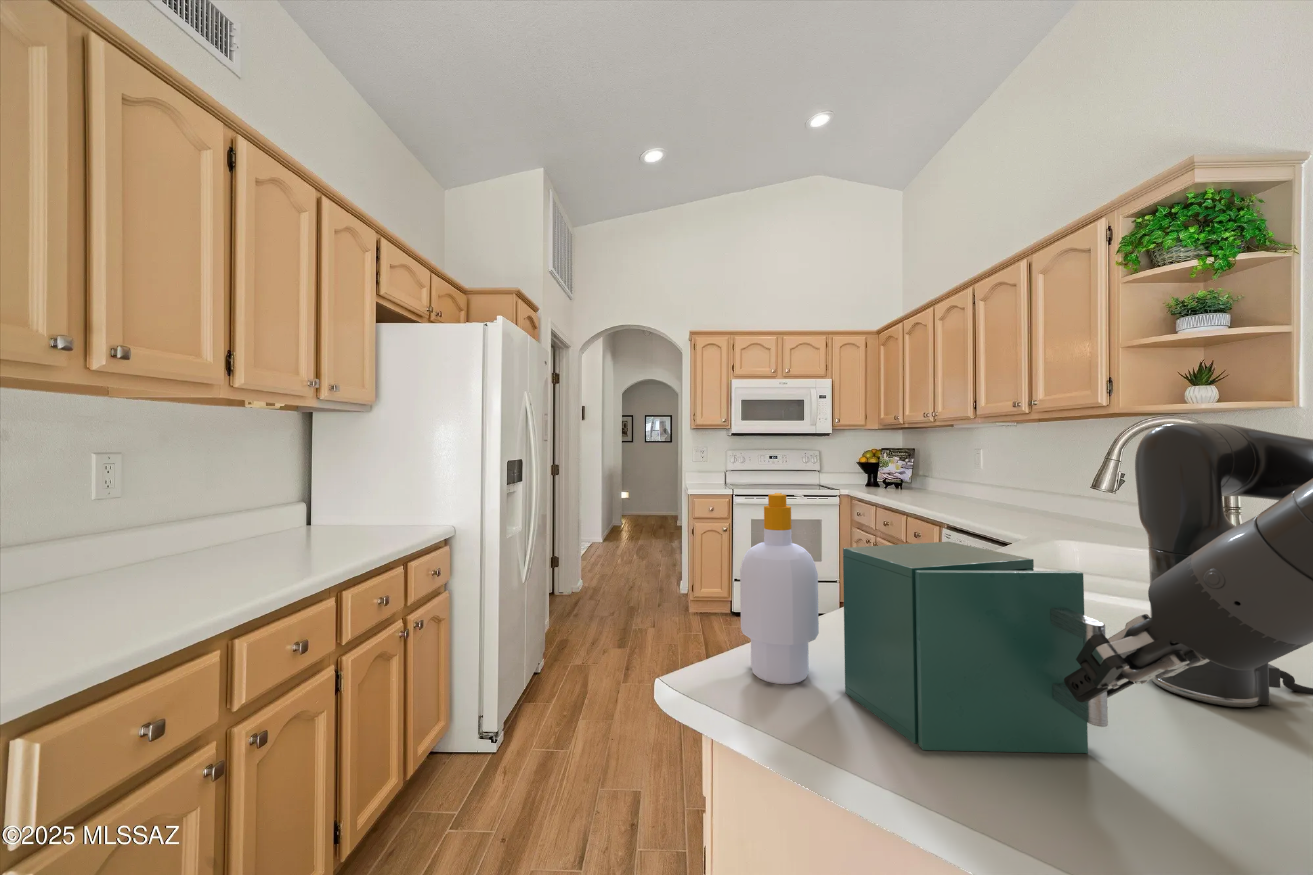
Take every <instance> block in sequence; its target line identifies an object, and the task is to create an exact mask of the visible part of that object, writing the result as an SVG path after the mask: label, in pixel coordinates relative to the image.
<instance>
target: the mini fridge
mask: <svg viewBox="0 0 1313 875" xmlns="http://www.w3.org/2000/svg"><path fill="white" fill-rule="evenodd" d="M1034 563H1035V562H1034V559H1033V558H1030V557H1024V556H1020V555H1015V554H1011V553H1005V552H1001V551H996V550H991V549H986V548H981V547H976V546H972V545H967V544H963V543H958V542H953V541H936V542H935V541H933V542H918V543H917V542H916V543H901V544H900V543H899V544H887V545H886V544H885V545H869V546H868V545H867V546H866V545H865V546H853V547H852V546H849V547H842V571H843V572H842V573H843V574H842V575H843V582H842V583H843V584H842V585H843V640H844V641H843V642H844V644H843V646H844V647H843V648H844V649H843V650H844V693H845V694H846V695H848V697H850V698H852V700H854V701H855V702H857V703H858V704H859V705H861V706H862V707H863V708H865V709H867V710H868V711H869V712H870V713H872V714H873V715H874V716H876V717H878V719H880V720H881V721H883V722H884V723H885V724H887V725H888V726H889V727H891V728H892V729H893V730H895V731H896V732H897V733H899V734H900V735H902V736H903V737H905V738H906V739H907V740H908V741H909V742H911V743H913V744H914V745H918V694H917V640H916V587H915V570H965V571H1035V569H1034V568H1035V566H1034Z"/></svg>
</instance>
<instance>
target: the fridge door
mask: <svg viewBox="0 0 1313 875" xmlns="http://www.w3.org/2000/svg"><path fill="white" fill-rule="evenodd" d="M1084 586H1085V584H1084V573H1083V572H1081V571H1078V570H1034V571H965V570H915V587H916V640H917V694H918V744H917V745H918V746H919V748H921V750H922V751H942V752H943V751H946V752H949V751H951V752H953V751H954V752H995V753H996V752H997V753H998V752H1000V753H1001V752H1004V753H1046V754H1047V753H1049V754H1051V753H1052V754H1055V753H1056V754H1057V753H1058V754H1089V738H1088V737H1089V736H1088V735H1089V734H1088V733H1089V732H1088V724H1090V725H1091V726H1095V727H1099V728H1100V727H1101V728H1106V727H1108V726H1109V716H1108V715H1109V712H1108V698H1107V691H1106V692H1104V693H1102V694H1101V695H1099V696H1097V697H1095V698H1093V699H1091V700H1089V701H1086V702H1078V701H1077V700H1076V699H1075V698H1074V696H1073V695H1072V693H1071V692H1070V691H1069V689H1068V688H1067V686H1066V685H1065V683H1064V678H1065V677H1067V676H1068V675H1070V674H1071V673H1073V672H1075V671H1076V670H1078V669H1080V668H1081V666H1080V664H1079V663H1078V662H1077V660H1076V658H1077V656H1078V655H1079V653H1080V652H1081V650H1082V648H1083V647H1084V645H1085V644H1086V642H1087V640H1088V639H1089V638H1091V636H1092V635H1095V634H1104V636H1105V637H1106V638H1107V635H1106V624H1105V622H1104V623H1103V622H1102V621H1099V620H1097V619H1094V618H1092V617H1089V616H1087V615H1085V587H1084Z"/></svg>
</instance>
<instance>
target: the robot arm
mask: <svg viewBox="0 0 1313 875" xmlns="http://www.w3.org/2000/svg"><path fill="white" fill-rule="evenodd" d="M1134 457H1135V459H1134V474H1135V476H1134V477H1135V484H1136V485H1135V488H1136V496H1137V506H1138V507H1137V509H1138V516H1139V521H1140V523H1141V525H1142V527H1143V529H1144V531H1145V534H1146V535H1147V540H1148V542H1147V543H1148V569H1149V570H1148V573H1149V577H1148V578H1149V587H1148V591H1147V597H1148V601H1149V605H1150V606H1149V607H1150V608H1149V609H1150V612H1149V613H1150V615H1149V614H1147V613H1144V614H1141V615H1138V616H1135V617H1134V618H1132V619H1131V620H1129V621H1127V622H1126V624H1125V625H1124V626H1125V627H1124V628H1123V629H1121V630H1119V631H1118V632H1117V633H1115V634H1113V635H1111V636H1110V637H1109V638H1107V636H1106V635H1105V636H1106V637H1105V636H1104V634H1095V635H1092V636H1091V638H1089V639H1088V640H1087V642H1086V644H1085V645H1084V647H1083V648H1082V650H1081V652H1080V653H1079V655H1078V656H1077V658H1076V660H1077V662H1078V663H1079V664H1080V666H1081V668H1080V669H1078V670H1076V671H1075V672H1073V673H1071V674H1070V675H1068V676H1067V677H1065V678H1064V683H1065V685H1066V686H1067V688H1068V689H1069V691H1070V692H1071V693H1072V695H1073V696H1074V698H1075V699H1076V700H1077V701H1078V702H1086V701H1089V700H1091V699H1093V698H1095V697H1097V696H1099V695H1101V694H1102V693H1104V692H1106V691H1107V699H1108V698H1111V697H1112V696H1115V695H1116V694H1118V693H1120V692H1122V691H1123V690H1125V689H1127V688H1129V687H1131V686H1133V685H1140V684H1141V685H1145V684H1147V683H1148V682H1149V681H1150V680H1151V681H1152V682H1153V683H1154V684H1156V685H1157V686H1158V687H1160V688H1162V689H1164V690H1166V691H1168V692H1171V693H1173V694H1175V695H1178V696H1181V697H1184V698H1187V699H1191V700H1194V701H1199V702H1202V703H1203V702H1204V703H1207V704H1212V705H1216V706H1217V705H1218V706H1223V707H1231V708H1232V707H1234V708H1254V707H1257V706H1259V705H1265V706H1270V705H1271V699H1270V688H1277V689H1281V683H1282V684H1283V686H1284V687H1285V688H1286V689H1288V690H1291V691H1293V692H1296V693H1300V694H1307V695H1313V687H1309V686H1305V685H1301V684H1298V683H1296V680H1295V677H1294V676H1293V675H1292V674H1291V673H1289V672H1287V671H1285V670H1282V669H1281V668H1279V667H1277V666H1275V665H1272V664H1270V663H1271V662H1273V661H1275V660H1277V659H1279V658H1282V657H1284V656H1286V655H1288V654H1291V653H1293V652H1294V651H1297V650H1299V649H1301V648H1303V647H1305V646H1309V644H1312V643H1313V438H1306V437H1300V436H1294V435H1288V434H1282V433H1277V432H1276V433H1275V432H1272V431H1271V432H1270V431H1265V430H1260V429H1256V428H1255V429H1254V428H1249V427H1244V426H1239V425H1234V424H1227V423H1217V422H1216V423H1213V422H1212V423H1211V422H1209V423H1208V422H1205V423H1204V422H1203V423H1201V422H1200V423H1199V422H1194V423H1193V422H1192V423H1191V422H1189V423H1187V422H1186V423H1185V422H1184V423H1180V422H1179V423H1168V424H1167V423H1166V424H1163V425H1159V426H1157V427H1154V428H1153V429H1151V430H1149V431H1148V432H1146V433H1145V434H1144V436H1143V437H1142V439H1141V440H1140V442H1139V443H1138V445H1137V448H1136V453H1135V456H1134ZM1223 497H1243V498H1244V497H1245V498H1254V499H1263V500H1264V499H1265V500H1271V501H1276V502H1275V503H1272V505H1270V506H1269V507H1267V508H1266V509H1264V510H1263V511H1261V512H1260V513H1258V514H1257V515H1255V516H1253V517H1252V518H1250V519H1248V520H1246V521H1244V522H1242V523H1240V524H1238V525H1235V524H1234V523H1232V522H1231V521H1230V520H1229V518H1228V517H1227V516H1226V513H1225V507H1224V501H1223V500H1224V499H1223ZM1281 680H1282V682H1281Z"/></svg>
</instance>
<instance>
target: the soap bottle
mask: <svg viewBox="0 0 1313 875" xmlns="http://www.w3.org/2000/svg"><path fill="white" fill-rule="evenodd" d="M767 499H768V501H767V502H768V505H764V506H763V542H759V543H757V544H755V545H753V546H751V547H750V548H748V550H746V552H745V554H744V556H743V558H742V560H741V565H740V569H739V579H740V580H739V584H740V585H739V588H740V590H739V596H740V598H739V600H740V601H739V602H740V629H741V633H742V634H743V635H744V636H746V637H747V638H749V639H750V667H751V671H752V674H754V675H755V676H756V677H757V678H758V679H760V680H762V681H764V682H767V683H770V684H776V685H792V684H793V685H794V684H798V683H801V682H803V681H804V680H806V679H807V677H808V676H809V672H810V668H809V667H810V666H809V662H810V660H809V643H810V642H812V641H813V642H814V641H816V639H817V637H818V636H819V634H820V632H819V622H820V621H819V574H818V573H819V572H818V569H817V566H816V562H815V561H814V558H813V556H812V555H811V553H809V551H807V549H805V547H802V546H801V545H799V544H797V543H794V542H793V539H792V535H793V534H792V532H793V531H792V506H791V505H787V494H783V493H782V492H775V493H769V494H768V497H767Z"/></svg>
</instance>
